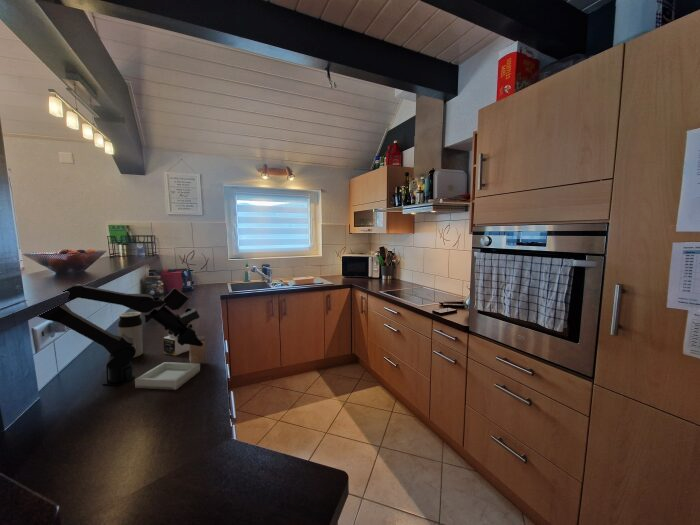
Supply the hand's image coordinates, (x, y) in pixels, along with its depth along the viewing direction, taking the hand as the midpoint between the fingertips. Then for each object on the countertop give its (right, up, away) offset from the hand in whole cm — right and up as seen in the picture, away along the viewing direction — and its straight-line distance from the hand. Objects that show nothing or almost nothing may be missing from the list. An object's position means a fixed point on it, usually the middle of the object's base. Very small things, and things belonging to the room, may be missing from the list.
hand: (201, 343), depth 115 cm
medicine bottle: (-18, -8, +13) cm, 24 cm away
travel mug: (-34, -8, +8) cm, 36 cm away
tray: (-5, -9, -12) cm, 16 cm away
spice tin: (-1, -7, 0) cm, 7 cm away
